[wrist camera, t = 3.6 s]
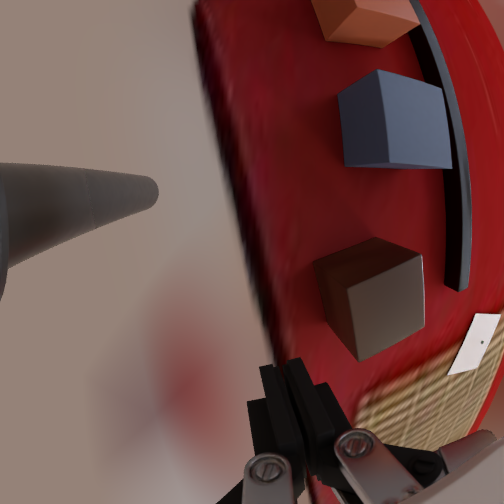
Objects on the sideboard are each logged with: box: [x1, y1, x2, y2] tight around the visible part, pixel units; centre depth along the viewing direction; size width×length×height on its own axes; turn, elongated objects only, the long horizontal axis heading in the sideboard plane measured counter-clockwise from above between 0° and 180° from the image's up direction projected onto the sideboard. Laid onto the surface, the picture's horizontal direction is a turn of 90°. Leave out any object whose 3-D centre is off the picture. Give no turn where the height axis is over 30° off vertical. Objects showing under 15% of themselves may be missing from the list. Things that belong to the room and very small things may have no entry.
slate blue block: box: [337, 69, 452, 169], centre depth 13 cm, size 5×5×5 cm
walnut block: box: [313, 237, 424, 362], centre depth 16 cm, size 5×5×5 cm
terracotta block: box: [311, 0, 420, 48], centre depth 11 cm, size 5×5×5 cm
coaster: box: [447, 314, 501, 375], centre depth 23 cm, size 8×8×1 cm
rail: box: [408, 0, 472, 292], centre depth 16 cm, size 2×26×2 cm, turn 10°
